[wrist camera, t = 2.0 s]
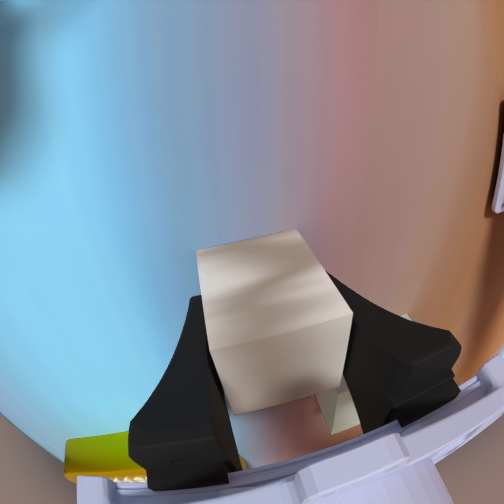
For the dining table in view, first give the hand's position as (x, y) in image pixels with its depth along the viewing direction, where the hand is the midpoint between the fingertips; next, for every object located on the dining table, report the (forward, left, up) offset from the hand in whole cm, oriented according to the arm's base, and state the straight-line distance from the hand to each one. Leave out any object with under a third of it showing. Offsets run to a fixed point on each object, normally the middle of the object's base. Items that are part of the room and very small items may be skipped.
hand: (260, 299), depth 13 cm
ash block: (0, 0, -1) cm, 1 cm away
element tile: (+12, +21, -2) cm, 24 cm away
